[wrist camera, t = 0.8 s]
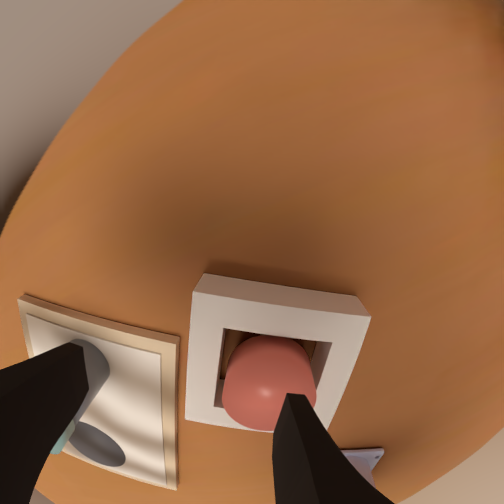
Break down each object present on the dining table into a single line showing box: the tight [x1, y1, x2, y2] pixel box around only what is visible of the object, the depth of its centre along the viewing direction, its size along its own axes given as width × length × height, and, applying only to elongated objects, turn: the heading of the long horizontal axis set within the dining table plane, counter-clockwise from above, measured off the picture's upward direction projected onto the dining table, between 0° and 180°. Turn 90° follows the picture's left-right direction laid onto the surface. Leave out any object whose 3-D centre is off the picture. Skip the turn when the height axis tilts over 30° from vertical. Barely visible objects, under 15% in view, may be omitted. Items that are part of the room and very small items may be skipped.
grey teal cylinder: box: [50, 339, 110, 454], centre depth 15 cm, size 4×4×8 cm
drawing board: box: [18, 294, 180, 491], centre depth 21 cm, size 20×14×1 cm
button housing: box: [185, 273, 371, 433], centre depth 18 cm, size 10×10×3 cm
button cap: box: [222, 335, 317, 431], centre depth 16 cm, size 5×5×3 cm
